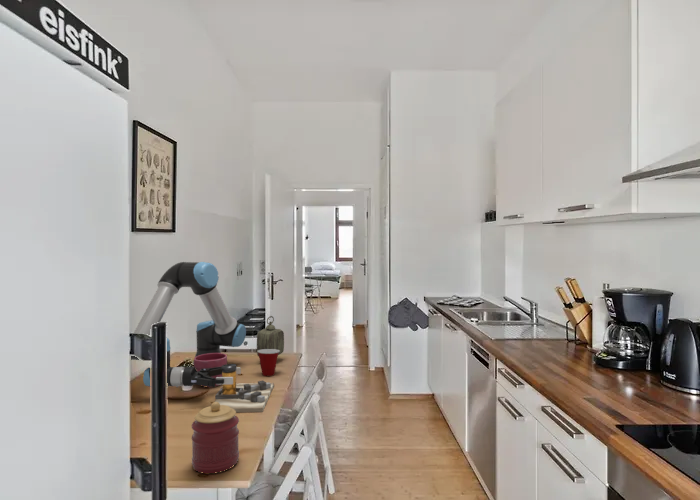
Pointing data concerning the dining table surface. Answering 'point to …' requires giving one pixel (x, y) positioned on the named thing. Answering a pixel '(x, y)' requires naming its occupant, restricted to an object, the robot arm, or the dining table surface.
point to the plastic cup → (268, 361)
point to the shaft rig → (247, 397)
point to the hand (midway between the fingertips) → (236, 375)
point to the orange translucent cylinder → (229, 371)
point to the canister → (215, 439)
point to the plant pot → (210, 362)
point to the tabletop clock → (270, 338)
